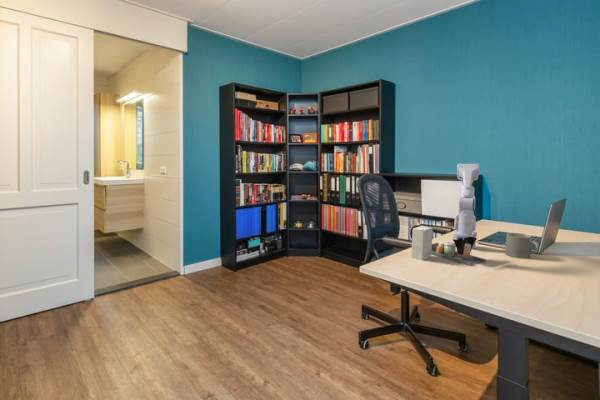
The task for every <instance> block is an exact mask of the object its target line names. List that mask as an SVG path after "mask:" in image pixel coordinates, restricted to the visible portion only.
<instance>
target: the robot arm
mask: <svg viewBox="0 0 600 400" xmlns="http://www.w3.org/2000/svg"><path fill="white" fill-rule="evenodd" d="M479 175H480V164H479V163H458V164H457V165H456V177H457V180H459V181H461V183H462V186H461V187H460V190H459V198H458V213H456V214H455V216H454V224H453V226H454V228H453V229H454V230H456V233H455V234H452V241H453V243H455V245H456V251H457V253H458V254H460V255H463V251H464V246H465V243H468V244H471V251H472V250H474V249H478V248H477V246H476V243H477V242H476V241H478V238H477V235H478V232H476V227H477V223H476V222H477V221H476V219H477V217H476V215H475V214H474V213H475V212H474V211H475V209H476V196H475V187H474V186H473V183H474V181H478V178H479Z"/></svg>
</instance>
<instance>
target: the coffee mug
mask: <svg viewBox="0 0 600 400" xmlns="http://www.w3.org/2000/svg"><path fill="white" fill-rule="evenodd" d="M505 238H506V239H505V240H506V242H505V253H504V254H505V256H507V257H509V258H516V259H525V260H526V259H530V257H531V255H535V254H538V253H539V250H540V244H539V243H538V242H537V241H535V240H532V235H530V234H526V233H520V232H508V233H506V236H505ZM532 245H534V246H535V247H534V248H535V249H534V250H533V249H532Z"/></svg>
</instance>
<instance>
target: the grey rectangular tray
mask: <svg viewBox="0 0 600 400" xmlns="http://www.w3.org/2000/svg"><path fill="white" fill-rule="evenodd" d="M437 246H440V244H439V242H434V243H433V242H432V251H431V256H434V257H436V258H437V257H438V258H440V259H445V260H449V261H451V262H454V263H458V264H462V265H464V266H468V267H471V266H476V265H481V264H484V263H487V259H486V258H482V257H479V256H475V255H471V254H470V258H460V257H458V253H457V250H456V251H455V257H450V256H447V255H444V254H440V253H436V251H437Z"/></svg>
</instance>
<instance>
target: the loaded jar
mask: <svg viewBox="0 0 600 400" xmlns="http://www.w3.org/2000/svg"><path fill="white" fill-rule="evenodd" d="M443 244H444V255H447V256H450V257H455V251H457V248H456V245H455V243H454V242H452V241H450V242H444V243H443Z"/></svg>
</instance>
